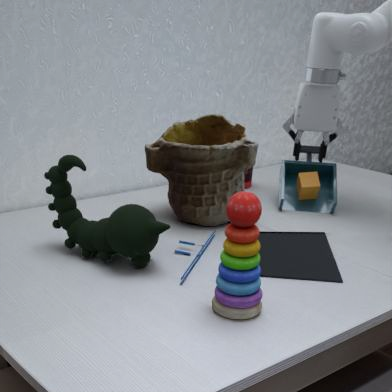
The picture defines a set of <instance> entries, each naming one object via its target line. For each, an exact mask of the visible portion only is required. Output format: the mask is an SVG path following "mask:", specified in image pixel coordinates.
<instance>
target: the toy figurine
mask: <svg viewBox="0 0 392 392" xmlns="http://www.w3.org/2000/svg"><path fill="white" fill-rule="evenodd" d="M74 168H78V169H80V170H81V171H83V172H86V171H87V166H86V164H85V162H84V161H83V160H82V159H81V158H80V157H79V156H77V155H75V154H66V155H63V156H62V157H60V158H59V159H58V162H57V165H53V166H51V167H50V168H49V169H48V171H46V172H44V174H43V177H44V179H45V180H48V181H49V182H50V185H49V186H46V187H45V193H46V194H47V195H50V196H52V197H53V202H50V203H49V204H48V205H47V208H48V210H49V212H50V211H51V212H56V213H57V219H53V221H52V227H53V228H54V229H57V230H59V229H63V230H65V231H66V235H67V237H68V238H66V239H64V246H65V248H67V249H69V250H71V249H73V248H75V247H76V245H77V246H78V247H79V248H80V249H81V250H80V256H81V257H82V258H83V259H86V260H88V259H90V258H91V257H92V255H97V258H98V260H99V261H100V262H103V263H108V262H109V261H111V260H112V259H113V256H116V255H119V256H121V257H123V258H127V259H130V263H131V265H132V266H133V267H134V268H136V269H143V268H144V267H146V266H147V265H148V264H150V262H151V259H152V256H151V252H152V251H153V250H154V249H155V248H156V246H157V245H158V242H159V238H160V235H161V234H164V233H165V232H166V231H168V230H170V229H171V225H170V224H169V223H165V222H163V221H159V220H158V219H157V217H156V216H155V214H153V212H151V210H150V209H148V208H146V207H145V206H143V205H140V204H137V203H128V204H123V205H121V206H119V207H117V208H116V209H114V210H113V211H112V212H111V214H110V215H109V216H108V217H102V218H100V219H99V220H88V219H87V218H86V217H84V215H83V213H82V212H81V210H80V208H78V203H77V200H76V198H75V196H74V195H73V194H72V193H73V186H72V184H71V183H70V181H69V180H68V178H69V177H68V176H69V175H68V172H70V171H71V170H72V169H74Z"/></svg>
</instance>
